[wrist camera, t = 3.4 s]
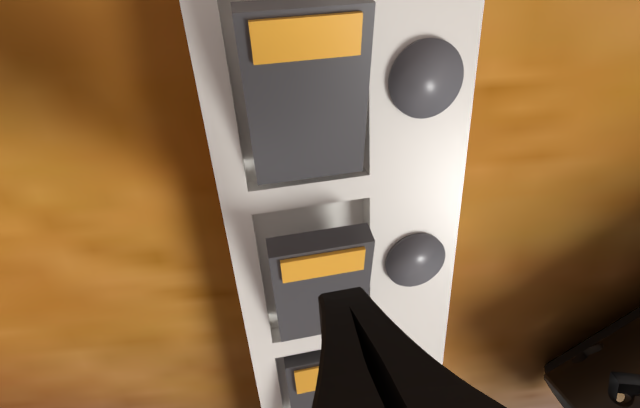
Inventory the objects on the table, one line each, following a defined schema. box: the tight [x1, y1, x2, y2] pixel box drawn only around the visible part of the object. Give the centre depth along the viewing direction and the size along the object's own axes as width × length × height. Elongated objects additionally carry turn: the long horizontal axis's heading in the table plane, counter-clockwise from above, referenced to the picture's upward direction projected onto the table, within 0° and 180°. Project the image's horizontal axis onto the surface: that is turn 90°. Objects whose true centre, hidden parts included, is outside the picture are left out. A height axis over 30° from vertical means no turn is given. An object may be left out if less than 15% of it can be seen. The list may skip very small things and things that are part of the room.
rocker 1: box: [230, 0, 376, 185], centre depth 13 cm, size 6×4×1 cm, turn 4°
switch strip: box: [179, 0, 485, 408], centre depth 19 cm, size 27×10×3 cm, turn 4°
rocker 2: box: [283, 350, 321, 408], centre depth 21 cm, size 6×4×1 cm, turn 3°
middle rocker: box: [266, 222, 375, 342], centre depth 17 cm, size 6×4×1 cm, turn 4°
